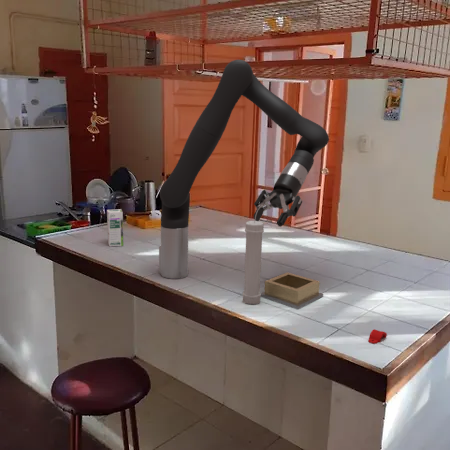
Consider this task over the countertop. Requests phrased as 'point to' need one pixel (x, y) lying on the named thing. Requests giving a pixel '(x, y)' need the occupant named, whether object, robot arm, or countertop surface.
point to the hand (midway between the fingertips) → (266, 222)
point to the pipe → (253, 261)
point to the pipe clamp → (376, 336)
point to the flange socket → (292, 290)
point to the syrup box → (115, 227)
